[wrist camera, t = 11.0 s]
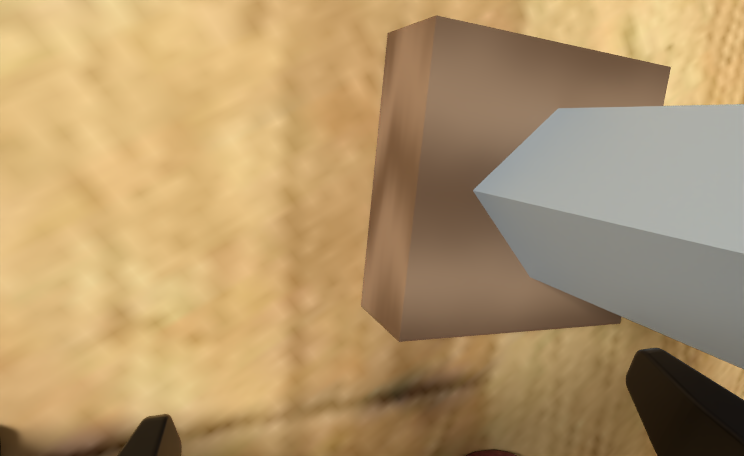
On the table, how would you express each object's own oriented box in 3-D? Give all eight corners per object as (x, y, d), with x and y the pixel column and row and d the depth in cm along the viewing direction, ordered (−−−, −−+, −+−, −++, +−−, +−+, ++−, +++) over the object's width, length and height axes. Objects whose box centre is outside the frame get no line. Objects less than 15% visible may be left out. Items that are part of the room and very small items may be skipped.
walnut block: (559, 296, 28) (620, 323, 24) (360, 306, 23) (399, 341, 19) (598, 74, 25) (670, 67, 22) (388, 33, 21) (436, 15, 17)
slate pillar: (530, 277, 21) (916, 443, 10) (472, 190, 19) (879, 285, 8) (605, 199, 22) (1037, 279, 11) (558, 108, 20) (1030, 98, 9)
